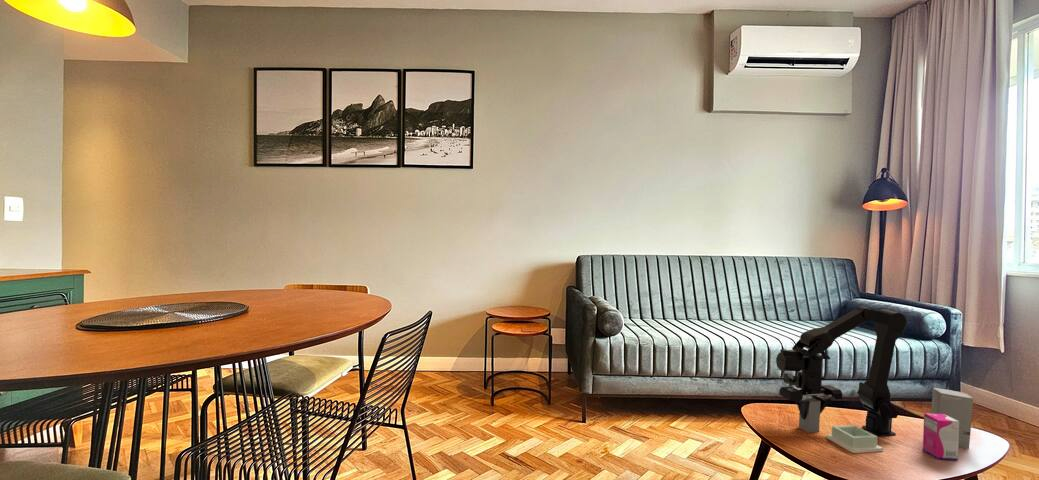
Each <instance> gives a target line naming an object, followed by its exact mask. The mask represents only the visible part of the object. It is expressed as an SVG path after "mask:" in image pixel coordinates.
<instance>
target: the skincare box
mask: <svg viewBox="0 0 1039 480" xmlns="http://www.w3.org/2000/svg"><path fill="white" fill-rule="evenodd" d="M930 407H931V409H930V413H932V414H945V415H947V416H949V417H951V418H953V419H955V420H957V421H959V440H958V448H964V449H968V450H969V449H970V441H971V430H972V419H973V417H972V416H973V409H974V408H973V407H974V398H973V397H972V396H970V395H969V394H967V393H966V392H964V391H963V392H962V391H956V390H951V389H945V388H939V387H932V397H931V406H930Z"/></svg>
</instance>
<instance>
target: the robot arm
mask: <svg viewBox="0 0 1039 480" xmlns="http://www.w3.org/2000/svg"><path fill="white" fill-rule="evenodd" d="M907 320H908V319H907V317H906V316H905V315H903V314H902V313H900V312H896V311H893V310H889V309H886V308H885V309H879V310H875V309H872V308H871V307H867V306H862V305H860V306H857V307H855V308H853V310H851V311H849V312H847V313H845V314H844V315H842V316H840V317H838V318H837V319H835V320H833V321H832V322H830V323H828V324H826V325H825V326H821V327H815V328H812V329H809V330H806V331H803V332H802V333H801V335H800V337H799V339H798V340H797V342H796V343H795V344H794V346H793V347H792V348H791V349H786V348H785V349H783V348H781V349H780V350H779V353H777V355H776V358H775V363H776V366H777V369H778V371H780V372H781V371H782V372H790V373H783V382H784V384H788V386H781V387H780V388H779V393H778V394H779V396H781V397H783V398H785V399H787V400H789V401H792V402H795V403H796V406H797V408H798V412H799V413H800V414H801V417H802V419H804V420H805V419H806V416H807V412H808V408H809V404H810V401H808V400H807V397H813V398H815V399H817V400H819V401H821V404H820V415H821V414H822V413H823V411H824V410H825V408H826V407H828V405H829V404H830V403H832V402H833V400H832V399H834V400H843V392H842V390H841V389H840V388H838V387H835V386H833V385H831V384H822V383H823V381H826V376H823V363H824V360H831V356H829V355H828V354H827V353H826V351H827V350H828V349H829V348H830V347H831V346H832V345H833V344H834V342H835V340H837V339H838V338H839V337H842V336H843V335H845V334H847V333H848V332H851V331H852V330H855V329H856V328H857V327H859V326H861V325H862V324H864V323H866V322H869V321H871V322H873V328H874V331H875V334H876V338H875V339H876V340H875V343H874V349H873V350H874V351H873V355H872V359H871V360H872V361H871V364H870V369H869V375H868V378H867V379H866V381H864V382H862V381H859V384H858V390H857V392H856V394H857V396H858V397H857V398H858V399H859V400H860V403H862V406H863V409H866V410H867V411H866V416H865V425H862V426H861V429H863V430H865V431H867V432H869V433H871V434H873V435H875V436H877V437H884V436H885V437H886V436H897V435H896V432H894V431H892V427H893V426H892V425H893V423H892V422H893V419H897V418H898V415H900V414H899V413H900V412H899V411H898V410H897V408H895V407H894V406H893V404H892V403H891V397H892V394H891V391H890V388H889V386H888V381H889V376H890V372H891V368H892V361H893V357H894V351H895V347H896V342H897V340H898V339H899V338H900V337H901V336H902V335H903V334H904V333H905V332H904V331H905V329H906V327H907V324H908V321H907ZM791 372H798V373H797V375H793V374H792V373H791ZM793 386H795V387H793ZM829 396H831V398H832V399H831V398H829Z"/></svg>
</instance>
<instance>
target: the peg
mask: <svg viewBox="0 0 1039 480" xmlns="http://www.w3.org/2000/svg"><path fill="white" fill-rule="evenodd" d="M807 400H808V401H810V404H809V408H808V412H807V416H806V419H805V420H804V419H802V417H801V414H800V412H799V413H798V415H799V417H798V428H799V429H802V430H803V431H805V432H806V433H818V432H820V421H821V420H820V419H821V414H820V404H821V401H819V400H817V399H815V398H813V397H812V396H807Z"/></svg>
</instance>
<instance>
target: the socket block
mask: <svg viewBox="0 0 1039 480" xmlns="http://www.w3.org/2000/svg"><path fill="white" fill-rule="evenodd" d="M878 437H879V436H878V435H876V434H874V433H872V432H870V431H868V430H866V429H864V428H862V427H859V426H858V425H855V424H852V425H835V426H832V427H831V433H829V434H826V435H825V438H826V439H827V440H829V441H831V442H833V443H835V444H837V445H838V446H840V447H842V448H843V449H845V450H847V451H848V452H850V453H853V454H860V453H877V452H883V451H884V448H883V447H882V446H880V445H878Z"/></svg>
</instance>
